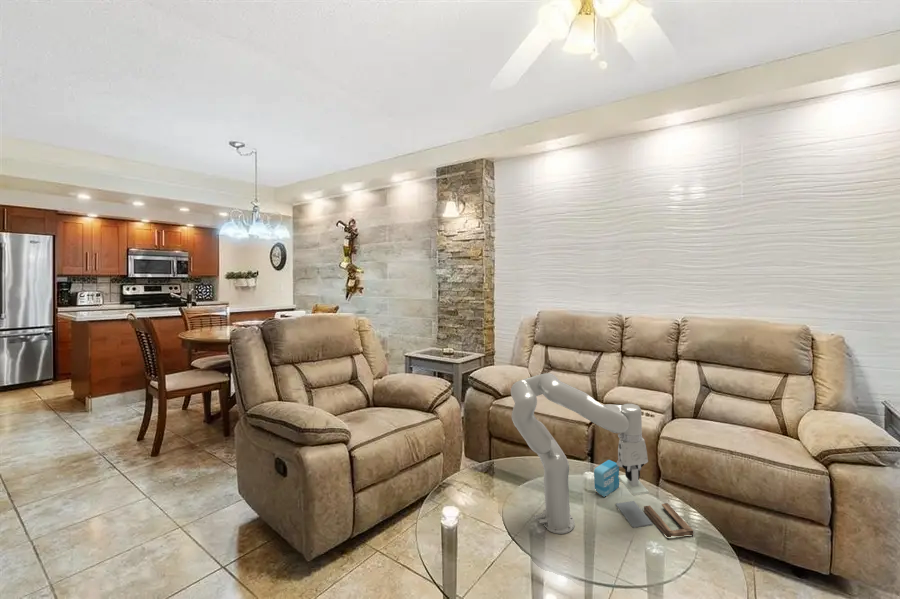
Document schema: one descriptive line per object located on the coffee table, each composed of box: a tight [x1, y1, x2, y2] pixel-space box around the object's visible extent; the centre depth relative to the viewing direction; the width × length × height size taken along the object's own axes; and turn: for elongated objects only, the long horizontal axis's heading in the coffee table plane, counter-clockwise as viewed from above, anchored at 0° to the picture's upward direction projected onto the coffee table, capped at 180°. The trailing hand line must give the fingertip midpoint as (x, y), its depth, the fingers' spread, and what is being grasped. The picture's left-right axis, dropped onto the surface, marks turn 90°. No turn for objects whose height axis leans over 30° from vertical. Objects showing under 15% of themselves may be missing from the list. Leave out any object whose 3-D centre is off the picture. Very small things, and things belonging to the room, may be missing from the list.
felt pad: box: [615, 500, 654, 529], centre depth 165 cm, size 8×14×1 cm, turn 4°
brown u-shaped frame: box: [643, 502, 694, 537], centre depth 159 cm, size 10×16×2 cm, turn 4°
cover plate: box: [618, 465, 650, 496], centre depth 163 cm, size 6×12×8 cm, turn 3°
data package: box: [593, 459, 620, 498], centre depth 181 cm, size 12×4×12 cm, turn 124°
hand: (632, 478), depth 163 cm, fingers closed on cover plate, 2 cm apart
